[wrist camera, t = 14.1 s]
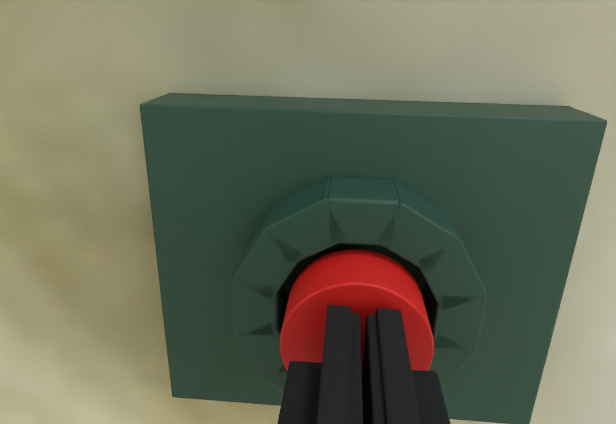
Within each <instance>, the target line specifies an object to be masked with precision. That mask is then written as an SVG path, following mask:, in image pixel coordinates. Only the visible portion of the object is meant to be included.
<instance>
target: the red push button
mask: <svg viewBox="0 0 616 424" xmlns="http://www.w3.org/2000/svg"><path fill="white" fill-rule="evenodd" d="M327 305H339V306H351V313H360V339H361V373H362V367H363V355H364V342H365V329H366V317H367V314H376V308H385V309H400V310H401V313H402V318H403V324H404V330H405V335H406V341H407V347H408V352H409V358H410V364H411V369H412V370H426V371H428V370H429V368H430V365H431V363H432V359H433V354H434V341H433V335H432V331H431V327H430V324H429V320H428V316H427V312H426V309H425V305H424V301H423V297H422V294H421V291H420V288H419V286H418V284H417V282H416V281H415V279H414V277H413V276H412V275H411V274H410V273H409V271H408V270H406V269H405V268H404V267H403V266H402V265H401V264H399V263H398V262H396V261H395V260H393V259H391V258H389V257H387V256H385V255H382V254H380V253H377V252H373V251H368V250H360V249H349V250H341V251H337V252H333V253H330V254H327V255H325V256H322V257H320V258H319V259H317V260H315V261H314V262H312V263H311V264H309V265H308V266H307V267H306V268H305V269H304V270H303V271H302V272H301V273H300V274H299V276H298V277H297V278H296V280H295V282H294V283H293V286H292V288H291V291H290V295H289V299H288V303H287V308H286V312H285V317H284V321H283V326H282V330H281V335H280V353H281V357H282V360H283V363H284V365H285V368H286V370H287V371H288V366H289V362H290V360H291V361H304V362H318V363H322V360H323V348H324V337H325V325H326V314H327Z"/></svg>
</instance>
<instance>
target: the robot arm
mask: <svg viewBox="0 0 616 424" xmlns="http://www.w3.org/2000/svg"><path fill="white" fill-rule="evenodd" d="M278 424H450V421H449V417H448V413H447V409H446V405H445V401H444V397H443V393H442V389H441V385H440V381H439V377H438V374H437V373H436V371H426V370H412V369H411V364H410V358H409V352H408V347H407V341H406V335H405V330H404V324H403V318H402V313H401V310H400V309H385V308H376V314H367V317H366V329H365V342H364V355H363V367H362V373H361V339H360V313H351V306H339V305H327V314H326V325H325V337H324V348H323V360H322V363H318V362H304V361H291V360H290V362H289V366H288V371H287V376H286V382H285V387H284V392H283V398H282V403H281V409H280V414H279V419H278Z"/></svg>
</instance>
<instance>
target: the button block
mask: <svg viewBox="0 0 616 424" xmlns="http://www.w3.org/2000/svg"><path fill="white" fill-rule="evenodd" d="M140 112H141V121H142V130H143V139H144V147H145V156H146V165H147V174H148V183H149V192H150V201H151V210H152V219H153V228H154V237H155V246H156V255H157V264H158V273H159V282H160V291H161V300H162V309H163V318H164V327H165V336H166V345H167V353H168V362H169V371H170V380H171V389H172V396H173V397H177V398H190V399H203V400H216V401H228V402H241V403H254V404H266V405H279V406H281V403H282V398H283V392H284V387H285V382H286V376H287V370H286V368H285V365H284V363H283V360H282V357H281V353H280V335H281V330H282V326H283V321H284V317H285V312H286V308H287V303H288V299H289V295H290V291H291V288H292V286H293V283H294V282H295V280H296V278H297V277H298V276H299V274H300V273H301V272H302V271H303V270H304V269H305V268H306V267H307V266H308V265H309V264H311V263H312V262H314V261H315V260H317V259H319V258H320V257H322V256H325V255H327V254H330V253H333V252H337V251H341V250H349V249H360V250H368V251H373V252H377V253H380V254H382V255H385V256H387V257H389V258H391V259H393V260H395V261H396V262H398V263H399V264H401V265H402V266H403V267H404V268H405V269H406V270H408V271H409V273H410V274H411V275H412V276H413V277H414V279H415V281H416V282H417V284H418V286H419V288H420V291H421V294H422V297H423V301H424V305H425V309H426V312H427V316H428V320H429V324H430V327H431V331H432V335H433V341H434V354H433V359H432V363H431V365H430V368H429V370H428V371H436V373H437V374H438V377H439V381H440V385H441V389H442V393H443V397H444V401H445V405H446V409H447V413H448V417H449V419H457V420H470V421H482V422H495V423H508V424H529V423H530V419H531V415H532V411H533V408H534V404H535V400H536V396H537V392H538V388H539V384H540V380H541V377H542V373H543V369H544V365H545V361H546V357H547V353H548V349H549V346H550V342H551V338H552V334H553V330H554V326H555V322H556V318H557V314H558V311H559V307H560V303H561V299H562V295H563V291H564V287H565V283H566V280H567V276H568V272H569V268H570V264H571V260H572V256H573V252H574V249H575V245H576V241H577V237H578V233H579V229H580V225H581V221H582V218H583V214H584V210H585V206H586V202H587V198H588V194H589V190H590V186H591V183H592V179H593V175H594V171H595V167H596V163H597V159H598V155H599V152H600V148H601V144H602V140H603V136H604V132H605V128H606V124H607V121H606V120H604V119H601V118H599V117H596V116H593V115H591V114H588V113H585V112H583V111H580V110H577V109H574V108H572V107H569V106H542V105H511V104H481V103H450V102H420V101H389V100H359V99H328V98H298V97H267V96H237V95H207V94H176V93H169V94H166V95H164V96H161V97H159V98H156V99H153V100H151V101H148V102H145V103H143V104H140Z"/></svg>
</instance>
